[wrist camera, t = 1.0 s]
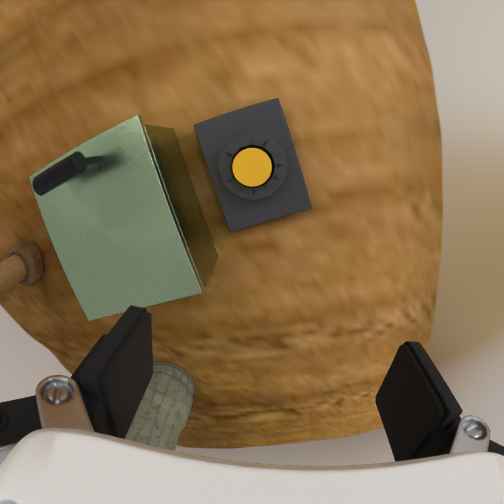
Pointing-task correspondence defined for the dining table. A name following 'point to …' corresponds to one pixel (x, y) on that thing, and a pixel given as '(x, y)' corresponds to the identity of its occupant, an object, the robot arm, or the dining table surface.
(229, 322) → the dining table surface
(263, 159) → the button
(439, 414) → the robot arm
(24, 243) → the mortar and pestle
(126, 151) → the lid
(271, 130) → the control box
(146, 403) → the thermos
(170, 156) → the green box
